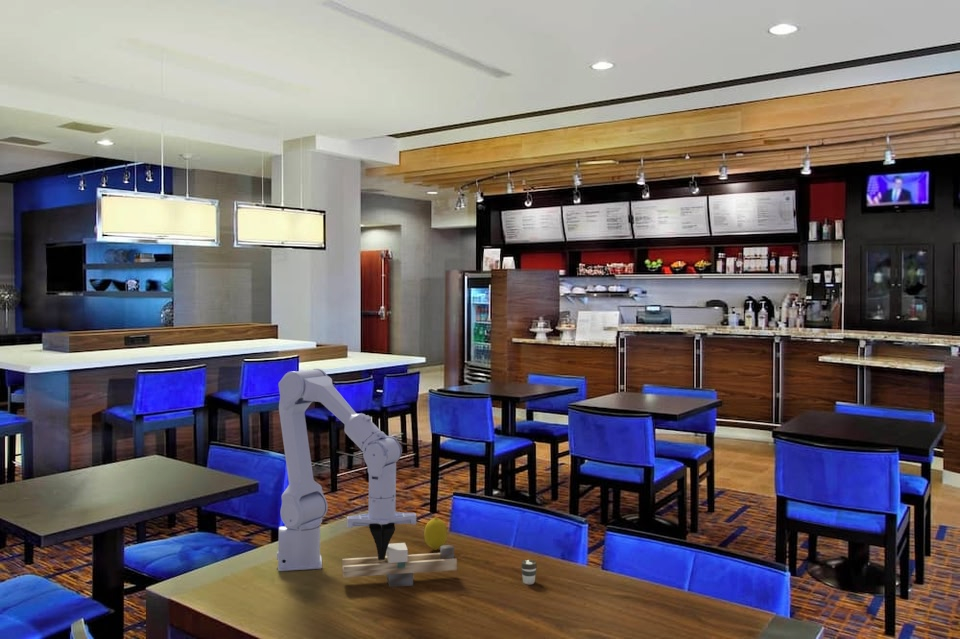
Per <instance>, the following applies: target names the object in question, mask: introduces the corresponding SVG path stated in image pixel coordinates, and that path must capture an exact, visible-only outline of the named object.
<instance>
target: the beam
mask: <svg viewBox="0 0 960 639" xmlns="http://www.w3.org/2000/svg"><path fill="white" fill-rule="evenodd" d="M439 549H440V551H439V552H433V553H432V552H431V553H430V552H429V553H416V554H415V553H414V554H408V562H398V563H388V560H387V556H386V555H385V560H378V556H369V557H368V556H367V557H366V556H365V557H352V558H351V557H350V558H342V559H341V560H342V562H341V563H342V564H341V565H342V576H343V578H344V579H345V578H354V577H370V576H385V575H386V581H387V583H388V587H389V588H397V587H410V586H414V574H417V573H430V572H431V573H433V572H444V571H448V572H449V571H457V570H458V567H457V566H458V558H455V546H453V545H452V544H451V545H450V544H444V545H443V546H441V547H440V548H439Z"/></svg>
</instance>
